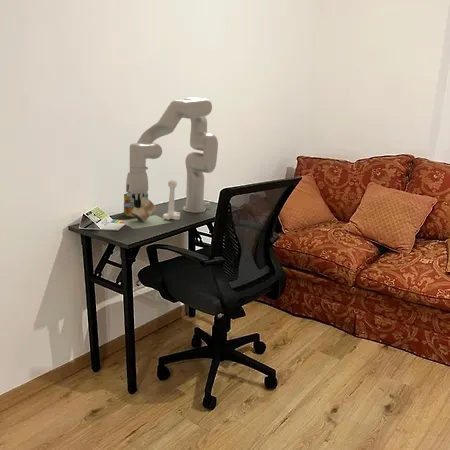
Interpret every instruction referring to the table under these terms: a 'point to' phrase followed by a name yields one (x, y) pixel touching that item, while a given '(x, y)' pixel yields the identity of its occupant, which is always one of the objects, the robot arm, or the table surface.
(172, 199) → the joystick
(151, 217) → the mat
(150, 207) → the maple block
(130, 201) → the chalk box
